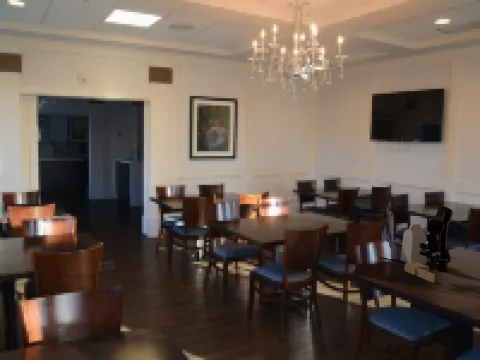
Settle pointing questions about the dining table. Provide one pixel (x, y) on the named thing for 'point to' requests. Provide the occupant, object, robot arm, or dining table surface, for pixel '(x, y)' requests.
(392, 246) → the ink cartridge box
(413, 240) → the milk
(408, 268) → the carton
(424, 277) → the flap
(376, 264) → the dining table surface
